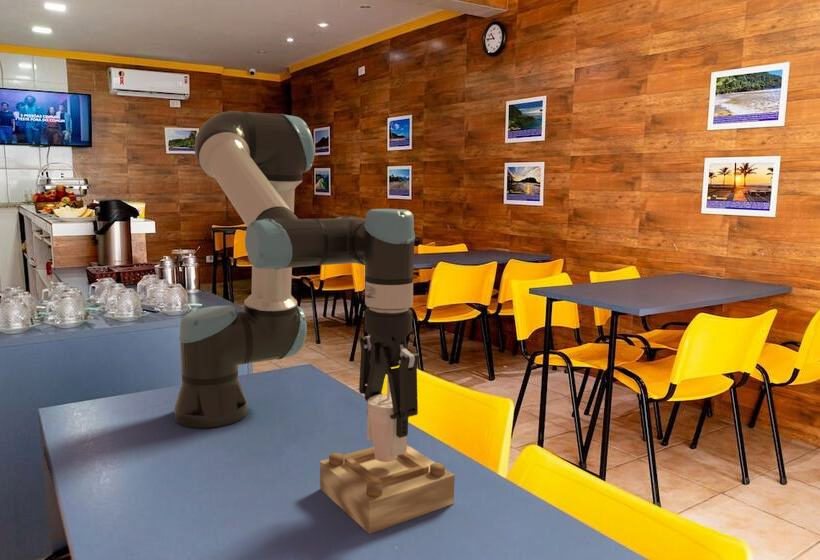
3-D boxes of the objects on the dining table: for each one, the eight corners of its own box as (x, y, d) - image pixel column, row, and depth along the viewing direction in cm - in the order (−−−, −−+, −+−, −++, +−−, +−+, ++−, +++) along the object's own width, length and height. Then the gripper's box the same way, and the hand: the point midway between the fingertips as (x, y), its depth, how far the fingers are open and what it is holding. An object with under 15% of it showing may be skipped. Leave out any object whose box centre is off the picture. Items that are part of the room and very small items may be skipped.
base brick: (320, 488, 105) (320, 454, 104) (398, 465, 114) (399, 433, 113) (369, 534, 92) (370, 495, 91) (453, 503, 101) (454, 467, 100)
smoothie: (412, 454, 103) (414, 373, 101) (391, 469, 98) (393, 384, 95) (380, 445, 106) (381, 366, 104) (358, 459, 101) (359, 376, 99)
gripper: (338, 299, 104) (337, 430, 107) (403, 323, 88) (400, 475, 92) (376, 295, 108) (374, 421, 112) (445, 317, 92) (440, 463, 96)
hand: (386, 445), depth 102 cm, fingers closed on smoothie, 6 cm apart
